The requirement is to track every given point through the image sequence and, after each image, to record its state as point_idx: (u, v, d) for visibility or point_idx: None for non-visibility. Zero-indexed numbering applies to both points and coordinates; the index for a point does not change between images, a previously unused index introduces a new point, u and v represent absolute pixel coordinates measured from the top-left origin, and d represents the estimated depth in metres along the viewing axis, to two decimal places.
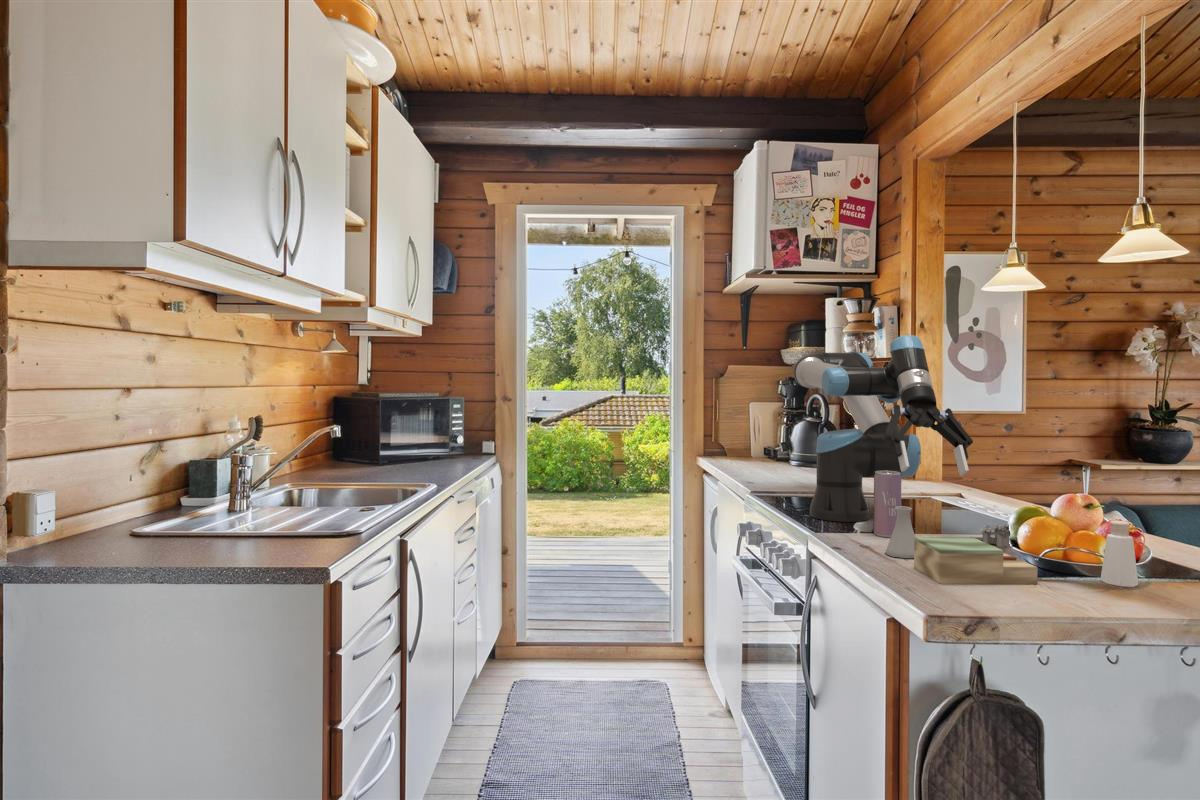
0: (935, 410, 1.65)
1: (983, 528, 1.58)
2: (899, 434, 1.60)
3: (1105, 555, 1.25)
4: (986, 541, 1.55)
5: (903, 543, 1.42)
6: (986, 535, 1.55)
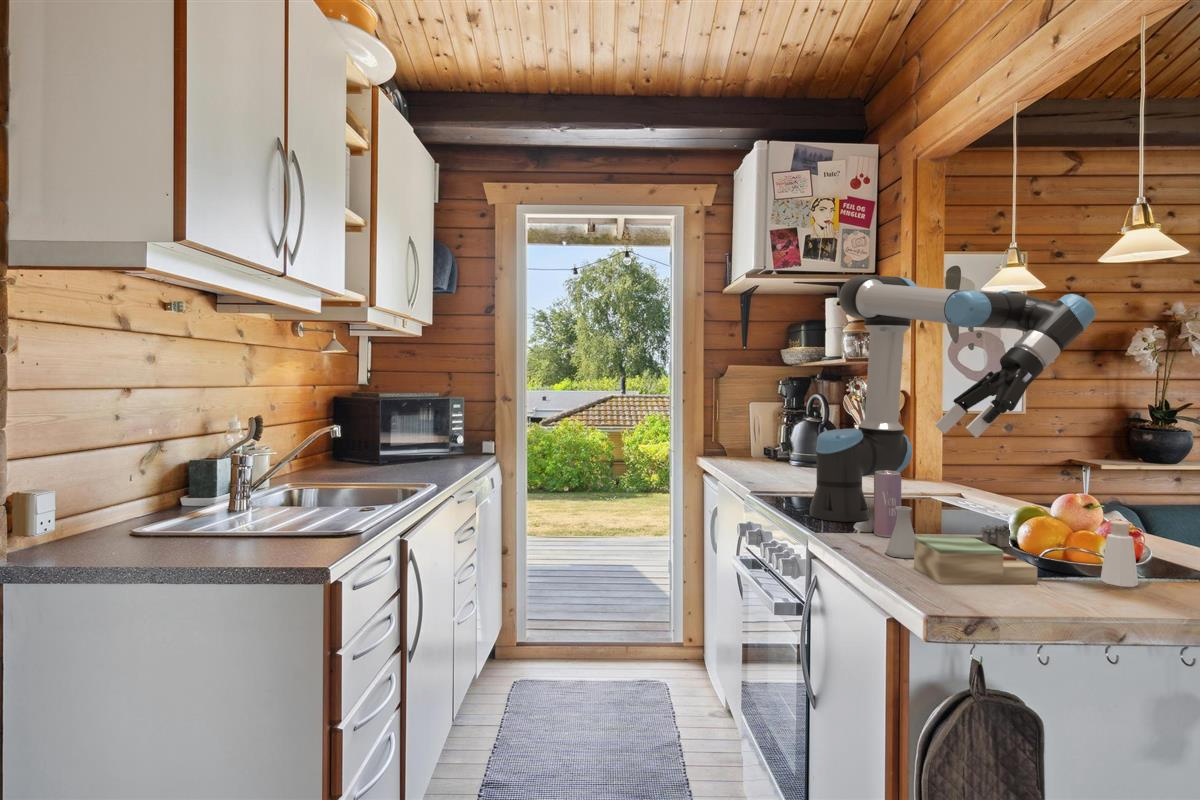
0: None
1: (983, 528, 1.58)
2: None
3: (1105, 555, 1.25)
4: (986, 541, 1.55)
5: (903, 543, 1.42)
6: (986, 535, 1.55)
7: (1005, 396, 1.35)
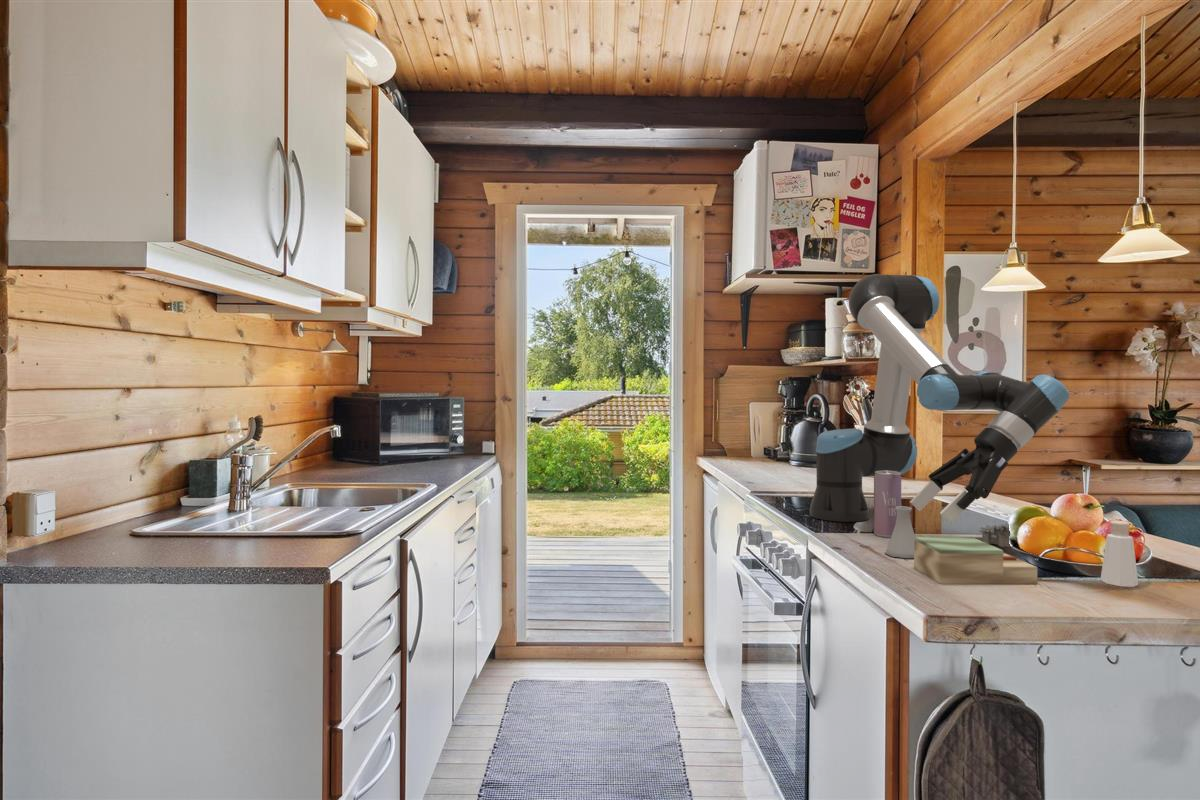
0: None
1: (982, 528, 1.58)
2: None
3: (1105, 555, 1.25)
4: (987, 541, 1.55)
5: (903, 543, 1.42)
6: (987, 535, 1.55)
7: (979, 483, 1.34)
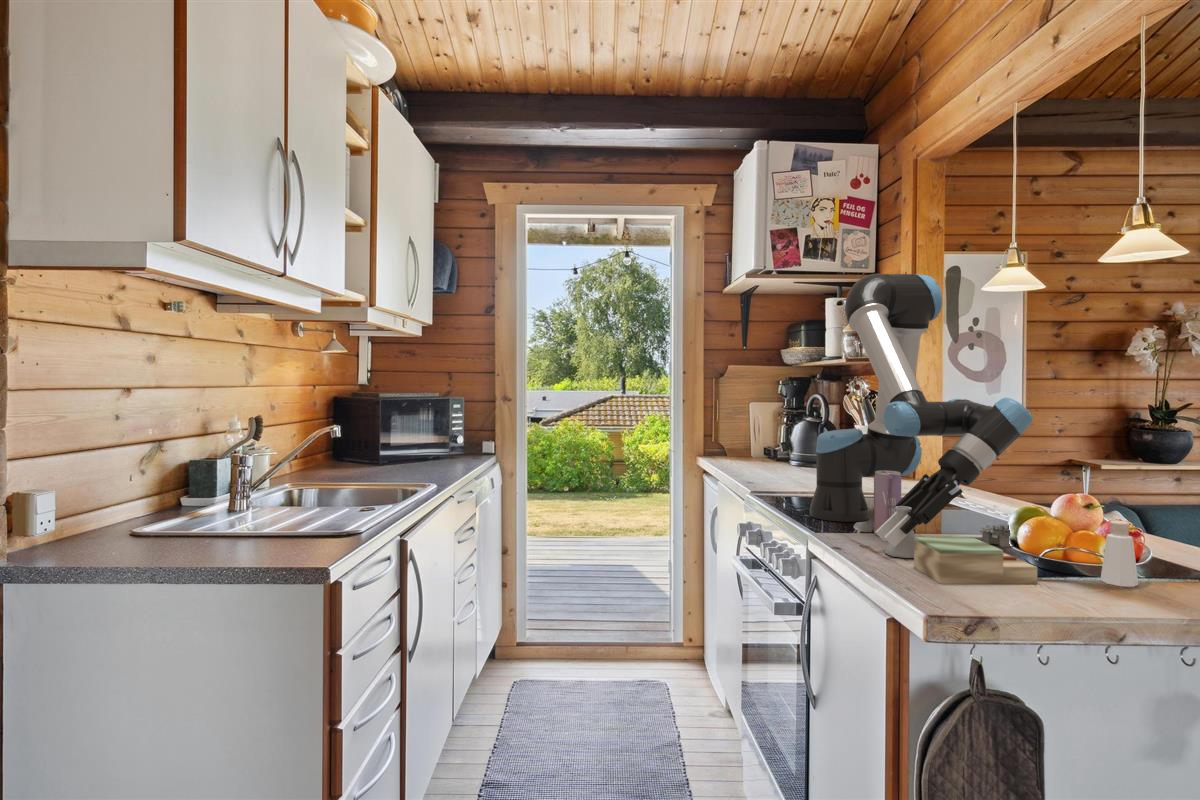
0: None
1: (982, 528, 1.58)
2: None
3: (1105, 555, 1.25)
4: (987, 541, 1.55)
5: (903, 543, 1.42)
6: (987, 535, 1.55)
7: (922, 509, 1.39)
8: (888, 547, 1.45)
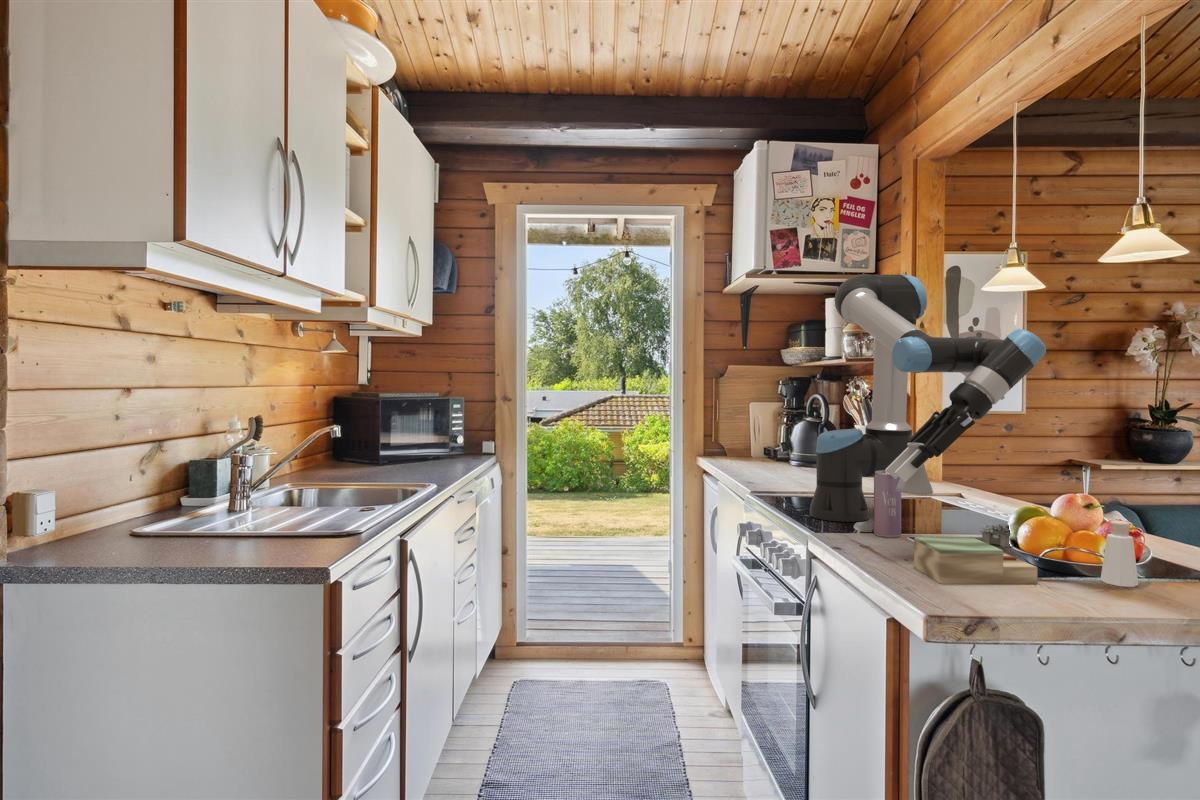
0: None
1: (982, 528, 1.57)
2: None
3: (1105, 555, 1.25)
4: (988, 542, 1.55)
5: (915, 480, 1.39)
6: (988, 536, 1.55)
7: (934, 441, 1.36)
8: (899, 484, 1.41)
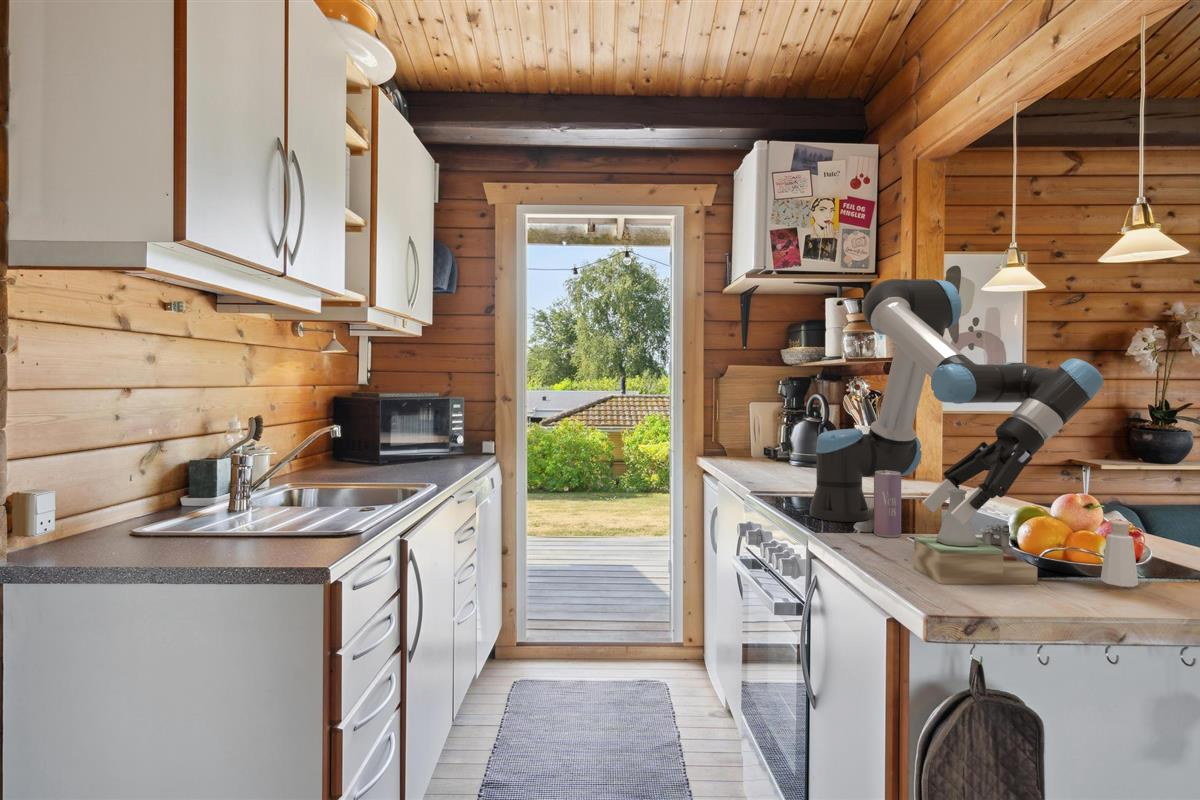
0: None
1: (982, 529, 1.57)
2: None
3: (1105, 555, 1.25)
4: (989, 542, 1.54)
5: (958, 530, 1.27)
6: (989, 536, 1.54)
7: (995, 480, 1.21)
8: (940, 534, 1.29)
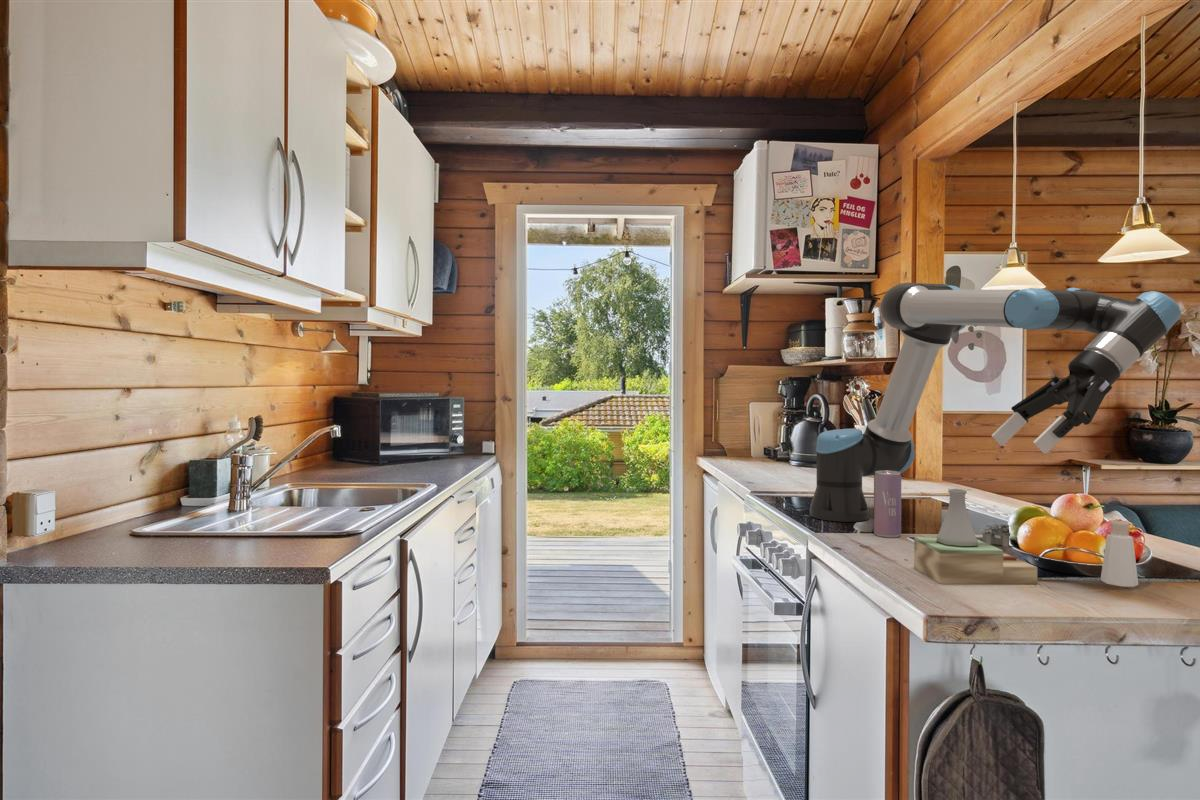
0: None
1: (982, 529, 1.57)
2: None
3: (1105, 555, 1.25)
4: (989, 542, 1.54)
5: (958, 530, 1.27)
6: (990, 536, 1.54)
7: (1080, 407, 1.19)
8: (940, 534, 1.29)
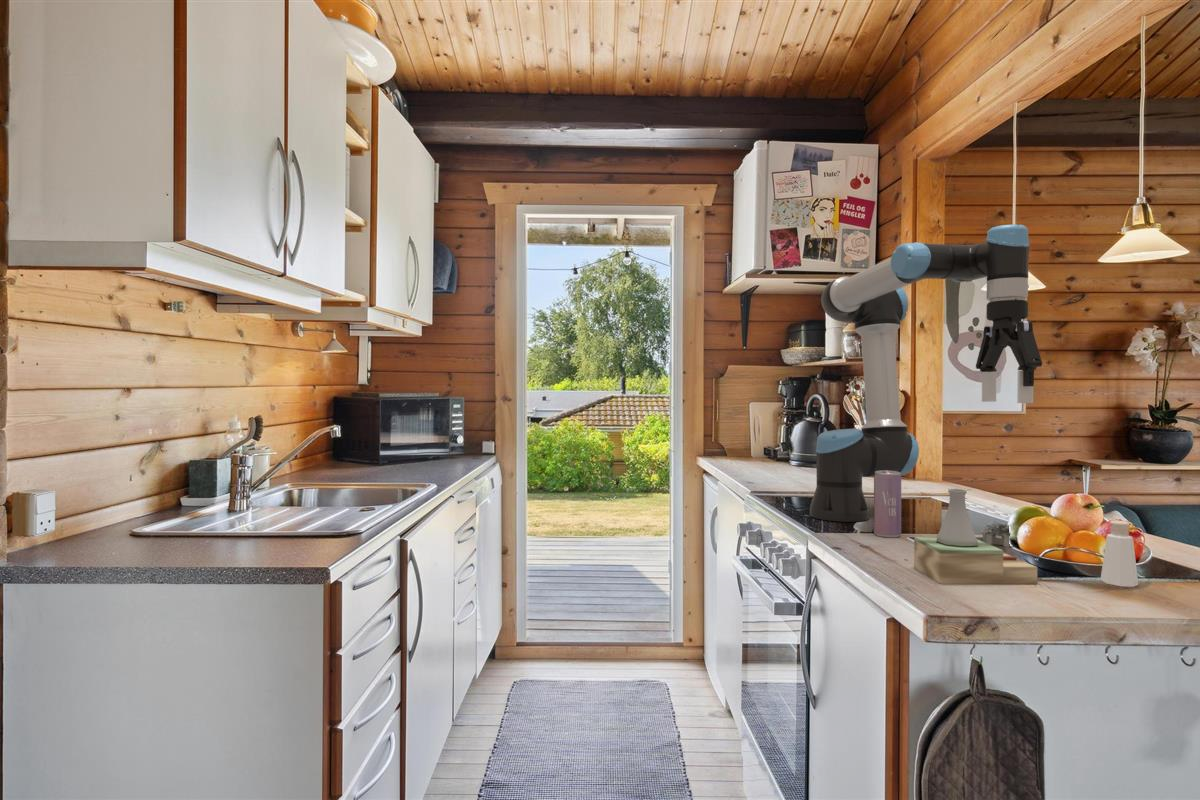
0: None
1: (982, 529, 1.57)
2: None
3: (1105, 555, 1.25)
4: (990, 542, 1.54)
5: (958, 530, 1.27)
6: (990, 536, 1.54)
7: (1026, 358, 1.36)
8: (940, 534, 1.29)
